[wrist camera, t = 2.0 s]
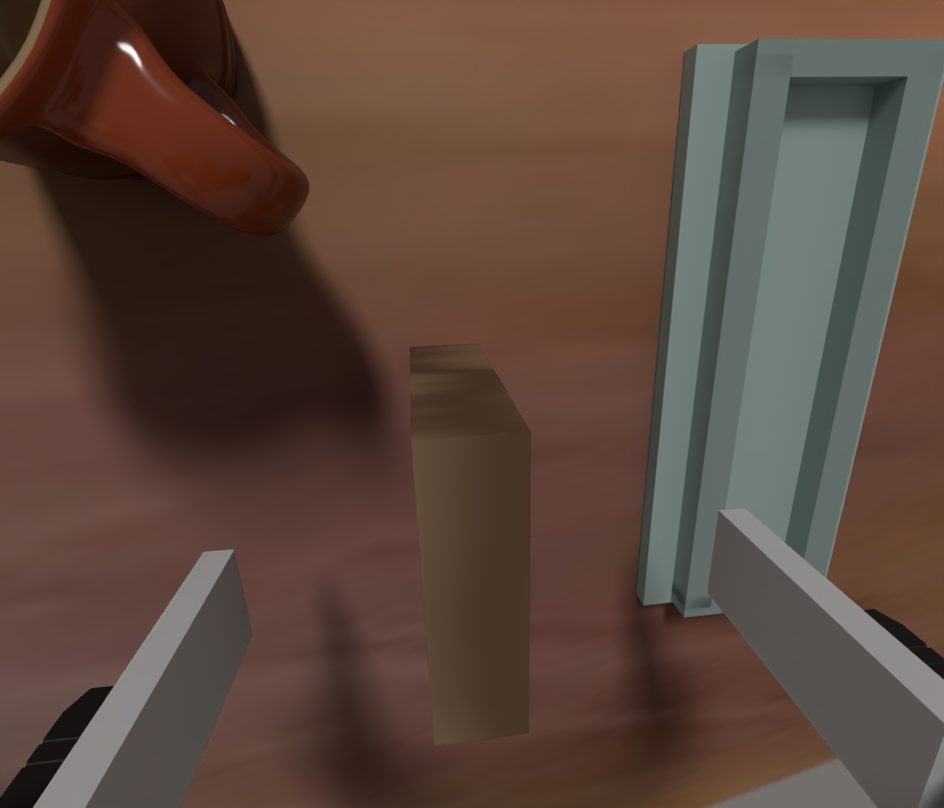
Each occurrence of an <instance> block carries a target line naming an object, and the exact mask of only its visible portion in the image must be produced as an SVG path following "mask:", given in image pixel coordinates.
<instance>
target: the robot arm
mask: <svg viewBox="0 0 944 808" xmlns="http://www.w3.org/2000/svg"><path fill="white" fill-rule="evenodd" d="M707 592H708V593H709V595H710V596H711V597H712V599H713V600H714V601H715V602H716V604H717V605H718V606H719V607H720V609H721V610H722V611H723V612H724V614H725V615H726V616H727V618H728V619H729V620H730V621H731V623H732V624H733V625H734V626H735V628H736V629H737V630H738V631H739V633H740V634H741V635H742V637H743V638H744V639H745V640H746V642H747V643H748V644H749V645H750V647H751V648H752V649H753V650H754V652H755V653H756V654H757V656H758V657H759V658H760V659H761V661H762V662H763V663H764V664H765V666H766V667H767V668H768V669H769V671H770V672H771V673H772V675H773V676H774V677H775V678H776V680H777V681H778V682H779V683H780V685H781V686H782V687H783V688H784V690H785V691H786V692H787V693H788V695H789V696H790V697H791V699H792V700H793V701H794V702H795V704H796V705H797V706H798V707H799V709H800V710H801V711H802V712H803V714H804V715H805V716H806V718H807V719H808V720H809V721H810V723H811V724H812V725H813V726H814V728H815V729H816V730H817V731H818V733H819V734H820V735H821V737H822V738H823V739H824V740H825V742H826V743H827V744H828V745H829V747H830V748H831V749H832V750H833V752H834V753H835V754H836V756H837V757H838V758H839V759H840V761H841V762H842V763H843V764H844V766H845V767H846V768H847V769H848V771H849V772H850V773H851V774H852V776H853V777H854V778H855V780H856V781H857V782H858V783H859V785H860V786H861V787H862V788H863V790H864V791H865V792H866V794H867V795H868V796H869V797H870V799H871V800H872V801H873V802H874V804H875V805H876V806H877V807H878V808H944V658H942V657H941V656H940V655H939V654H938V653H936V652H935V651H934V650H933V649H932V648H927V646H926V644H925V643H924V642H923V641H922V640H921V639H919V638H918V637H917V636H916V635H914V634H913V633H912V632H911V631H910V630H908V629H907V628H906V627H905V626H904V625H902V624H900V623H899V622H897V621H895V620H893V619H891V618H889V617H888V616H886V615H884V614H882V613H880V612H878V611H877V610H875V609H869V610H862V609H861V608H860V607H859V606H858V605H856V604H855V603H854V602H853V601H852V600H851V599H850V598H848V597H847V596H846V595H845V594H844V593H843V592H841V591H840V590H839V589H838V588H837V587H836V586H834V585H833V584H832V583H831V582H830V581H829V580H827V579H826V578H825V577H824V576H823V575H822V574H821V573H819V572H818V571H817V570H816V569H815V568H814V567H812V566H811V565H810V564H809V563H808V562H807V561H805V560H804V559H803V558H802V557H801V556H800V555H798V554H797V553H796V552H795V551H794V550H793V549H792V548H790V547H789V546H788V545H787V544H786V543H785V542H783V541H782V540H781V539H780V538H779V537H778V536H776V535H775V534H774V533H773V532H772V531H771V530H769V529H768V528H767V527H766V526H765V525H764V524H763V523H761V522H760V521H759V520H758V519H757V518H756V517H754V516H753V515H752V514H751V513H750V512H749V511H747V510H746V509H745V508H741V509H729V510H719V512H718V519H717V526H716V533H715V540H714V547H713V554H712V561H711V568H710V576H709V583H708V590H707ZM251 637H252V630H251V625H250V620H249V616H248V611H247V606H246V602H245V597H244V592H243V588H242V583H241V578H240V573H239V569H238V564H237V559H236V555H235V550H221V551H209V552H203V554H202V555H201V557H200V558H199V560H198V561H197V563H196V564H195V566H194V567H193V569H192V570H191V572H190V573H189V575H188V576H187V578H186V579H185V581H184V582H183V584H182V585H181V587H180V588H179V590H178V591H177V593H176V594H175V596H174V597H173V599H172V600H171V602H170V603H169V605H168V606H167V608H166V609H165V611H164V612H163V614H162V615H161V617H160V618H159V620H158V621H157V623H156V624H155V626H154V627H153V629H152V630H151V632H150V633H149V635H148V636H147V638H146V639H145V641H144V642H143V644H142V645H141V647H140V648H139V650H138V651H137V653H136V654H135V656H134V657H133V659H132V660H131V662H130V663H129V665H128V666H127V668H126V669H125V671H124V672H123V674H122V675H121V677H120V678H119V680H118V681H117V683H116V684H115V686H109V687H99V688H91V689H90V690H88V691H87V692H86V693H85V694H84V695H83V696H81V697H80V698H79V699H78V700H77V701H76V702H74V703H73V704H72V705H71V706H70V707H69V708H67V709H66V710H65V711H64V712H63V713H62V715H61V716H60V717H59V719H58V720H57V721H56V723H55V724H54V725H53V727H52V728H51V729H50V731H49V732H48V733H47V735H46V736H45V738H44V739H43V740H44V741H43V743H42V744H39V746H38V747H37V748H36V750H35V751H34V752H33V754H32V755H31V757H30V758H29V759H28V761H27V765H26V767H24V768H22V769H21V770H20V771H19V773H18V774H17V776H16V777H15V778H14V780H13V781H12V782H11V784H10V785H9V786H8V788H7V789H6V790H5V792H4V793H3V795H2V796H1V797H0V808H181V807H182V804H183V802H184V799H185V797H186V794H187V792H188V790H189V787H190V785H191V782H192V780H193V778H194V775H195V773H196V770H197V768H198V765H199V763H200V761H201V758H202V756H203V753H204V751H205V748H206V746H207V744H208V741H209V739H210V736H211V734H212V731H213V729H214V727H215V724H216V722H217V719H218V717H219V714H220V712H221V710H222V707H223V705H224V702H225V700H226V697H227V695H228V693H229V690H230V688H231V685H232V683H233V680H234V678H235V676H236V673H237V671H238V668H239V666H240V664H241V661H242V659H243V656H244V654H245V651H246V649H247V647H248V644H249V642H250V639H251Z"/></svg>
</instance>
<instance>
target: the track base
mask: <svg viewBox="0 0 944 808" xmlns="http://www.w3.org/2000/svg"><path fill="white" fill-rule="evenodd" d="M943 81H944V39H757V40H756V41H754V42H752V43H750V44H697V45H695V46H694V47H692V48H690V49H689V50H687V51H686V52H685V57H684V68H683V79H682V90H681V101H680V112H679V124H678V135H677V146H676V157H675V168H674V179H673V190H672V201H671V212H670V223H669V234H668V246H667V257H666V268H665V279H664V290H663V301H662V312H661V323H660V334H659V345H658V356H657V368H656V379H655V390H654V401H653V412H652V423H651V434H650V445H649V456H648V467H647V478H646V490H645V501H644V512H643V523H642V534H641V545H640V556H639V567H638V578H637V589H636V594H637V596H638V598H639V599H640V601H641V603H642V604H643V605H652V604H661V603H671V602H673V603H674V604H675V606H676V607H677V609H678V610H679V612H680V613H681V614H682V616H683V617H693V616H702V615H711V614H720V613H724V612H723V611H722V610H721V609H720V607H719V606H718V605H717V604H716V602H715V601H714V600H713V599H712V597H711V596H710V595H709V593H708V592H707V590H708V583H709V576H710V568H711V561H712V554H713V547H714V540H715V533H716V526H717V519H718V512H719V510H729V509H741V508H745V509H746V510H747V511H749V512H750V513H751V514H752V515H753V516H754V517H756V518H757V519H758V520H759V521H760V522H761V523H763V524H764V525H765V526H766V527H767V528H768V529H769V530H771V531H772V532H773V533H774V534H775V535H776V536H778V537H779V538H780V539H781V540H782V541H783V542H785V543H786V544H787V545H788V546H789V547H790V548H792V549H793V550H794V551H795V552H796V553H797V554H798V555H800V556H801V557H802V558H803V559H804V560H805V561H807V562H808V563H809V564H810V565H811V566H812V567H814V568H815V569H816V570H817V571H818V572H819V573H821V574H822V575H823V576H824V577H825V578H826V577H827V573H828V568H829V564H830V560H831V556H832V551H833V547H834V543H835V539H836V535H837V530H838V526H839V522H840V518H841V513H842V509H843V505H844V501H845V496H846V492H847V488H848V484H849V479H850V475H851V471H852V467H853V462H854V458H855V454H856V450H857V445H858V441H859V437H860V433H861V428H862V424H863V420H864V416H865V411H866V407H867V403H868V399H869V395H870V390H871V386H872V382H873V378H874V373H875V369H876V365H877V361H878V356H879V352H880V348H881V344H882V339H883V335H884V331H885V327H886V322H887V318H888V314H889V310H890V305H891V301H892V297H893V293H894V288H895V284H896V280H897V276H898V271H899V267H900V263H901V259H902V254H903V250H904V246H905V242H906V238H907V233H908V229H909V225H910V221H911V216H912V212H913V208H914V204H915V199H916V195H917V191H918V187H919V182H920V178H921V174H922V170H923V165H924V161H925V157H926V153H927V148H928V144H929V140H930V136H931V131H932V127H933V123H934V119H935V114H936V110H937V106H938V102H939V98H940V93H941V89H942V85H943Z"/></svg>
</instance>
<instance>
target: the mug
mask: <svg viewBox="0 0 944 808" xmlns="http://www.w3.org/2000/svg"><path fill="white" fill-rule="evenodd" d="M236 87H237V62H236V52H235V45H234V39H233V34H232V30H231V26H230V22H229V19H228V16H227V12H226V8H225V5H224V2H223V0H0V160H1V161H5V162H9V163H13V164H18V165H23V166H28V167H33V168H39V169H45V170H51V171H58V172H61V173H64V174H68V175H73V176H77V177H82V178H89V179H101V180H115V179H132V180H141V179H145V178H148V179H150V180H151V181H153V182H154V183H156V184H157V185H159V186H160V187H162V188H163V189H165V190H166V191H168V192H169V193H171V194H172V195H174V196H175V197H177V198H178V199H180V200H181V201H183V202H185V203H186V204H188V205H189V206H191V207H193V208H194V209H196V210H198V211H199V212H201V213H203V214H205V215H206V216H208V217H210V218H212V219H214V220H216V221H218V222H220V223H222V224H224V225H226V226H228V227H231V228H233V229H235V230H238V231H240V232H243V233H247V234H250V235H258V236H272V235H275V234H278V233H280V232H282V231H283V230H284V229H286V228H287V227H288V226H289V225H290V224H291V222H292V221H293V220H294V218H295V217H296V216H297V214H298V213H299V211H300V210H301V208H302V206H303V205H304V203H305V201H306V199H307V196H308V193H309V182H308V179H307V177H306V175H305V174H304V172H303V171H302V170H301V169H300V168H299V167H298V166H297V165H296V164H295V163H294V162H292V161H291V160H290V159H289V158H287V157H286V156H285V155H284V154H283V153H281V152H280V151H279V150H278V149H277V148H275V147H274V146H273V145H272V144H271V143H270V142H269V141H268V140H266V139H265V138H264V137H263V136H262V135H261V134H260V133H259V132H258V130H257V129H256V128H255V127H254V126H253V125H252V123H251V122H250V121H249V120H248V118H247V117H246V116H245V114H244V113H243V112H242V110H241V109H240V108H239V107H238V106H237V104H236V103H235V102H234V101H233V99H234V96H235V92H236Z"/></svg>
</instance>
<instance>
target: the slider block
mask: <svg viewBox="0 0 944 808" xmlns="http://www.w3.org/2000/svg"><path fill="white" fill-rule="evenodd" d="M410 396H411V447H412V460H413V473H414V486H415V499H416V512H417V525H418V538H419V552H420V565H421V578H422V591H423V604H424V617H425V630H426V643H427V656H428V669H429V682H430V696H431V709H432V722H433V735H434V746H437V745H445V744H452V743H460V742H467V741H475V740H482V739H490V738H497V737H505V736H512V735H520V734H527V733H529V589H530V442H531V432H530V430H529V428H528V426H527V425H526V423H525V421H524V420H523V418H522V416H521V415H520V413H519V411H518V410H517V408H516V406H515V404H514V403H513V401H512V399H511V398H510V396H509V394H508V393H507V391H506V389H505V388H504V386H503V384H502V383H501V381H500V379H499V377H498V376H497V374H496V372H495V371H494V369H493V367H492V366H491V364H490V362H489V361H488V359H487V357H486V355H485V354H484V352H483V350H482V349H481V347H480V345H479V344H478V343H477V344H459V345H441V346H423V347H410Z"/></svg>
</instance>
